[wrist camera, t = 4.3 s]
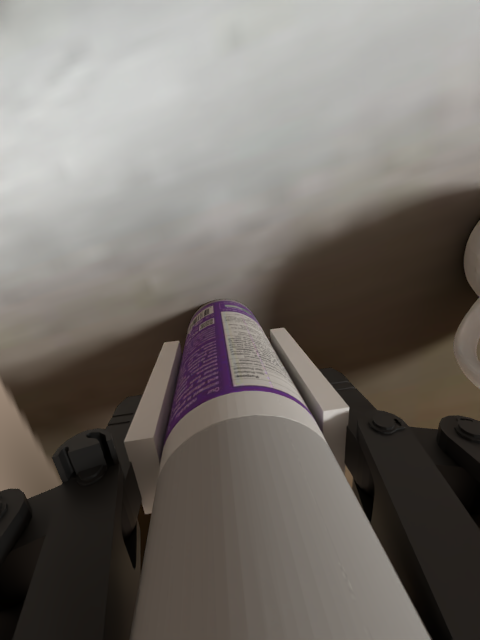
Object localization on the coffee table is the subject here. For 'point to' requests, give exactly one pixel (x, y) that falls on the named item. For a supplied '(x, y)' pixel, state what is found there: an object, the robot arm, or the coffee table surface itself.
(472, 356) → the mug
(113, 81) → the coffee table surface
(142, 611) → the container
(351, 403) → the robot arm
